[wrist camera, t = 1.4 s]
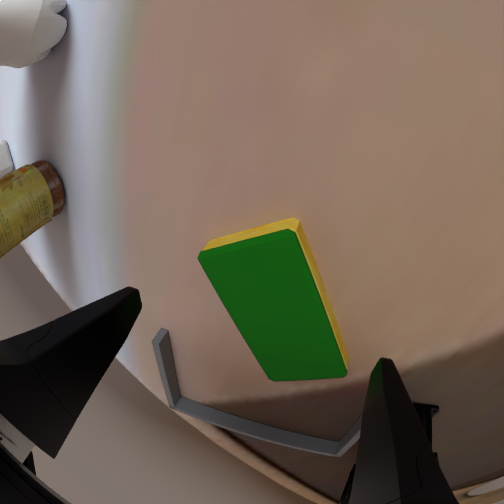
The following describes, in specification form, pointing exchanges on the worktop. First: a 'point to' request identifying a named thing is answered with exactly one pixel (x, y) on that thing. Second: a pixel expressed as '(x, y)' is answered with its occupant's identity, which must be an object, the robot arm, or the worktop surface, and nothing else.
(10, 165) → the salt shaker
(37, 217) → the sauce bottle
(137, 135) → the worktop surface
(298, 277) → the dish sponge
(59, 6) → the water bottle
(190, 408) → the box
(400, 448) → the robot arm
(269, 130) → the worktop surface
